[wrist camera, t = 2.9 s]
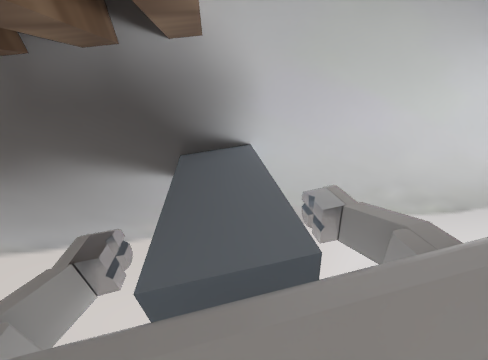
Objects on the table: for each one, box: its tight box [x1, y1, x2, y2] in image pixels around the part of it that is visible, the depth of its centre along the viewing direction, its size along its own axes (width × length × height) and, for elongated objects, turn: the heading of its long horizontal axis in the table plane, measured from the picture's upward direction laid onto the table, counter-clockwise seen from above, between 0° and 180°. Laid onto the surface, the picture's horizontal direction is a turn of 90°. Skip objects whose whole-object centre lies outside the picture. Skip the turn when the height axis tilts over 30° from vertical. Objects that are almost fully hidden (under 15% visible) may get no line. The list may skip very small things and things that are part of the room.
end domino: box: [134, 144, 322, 323], centre depth 10 cm, size 2×5×10 cm, turn 97°
